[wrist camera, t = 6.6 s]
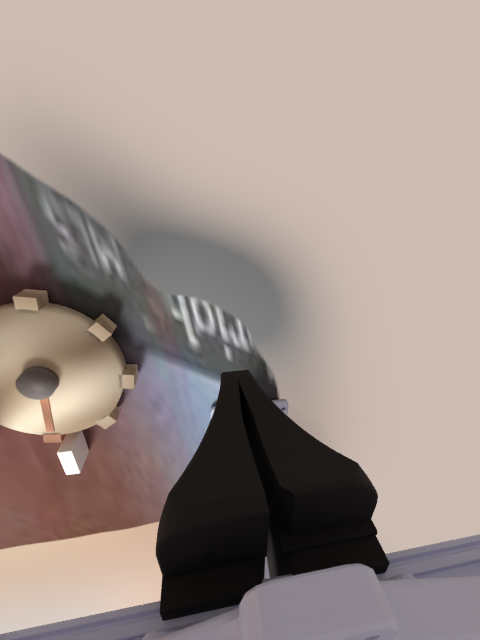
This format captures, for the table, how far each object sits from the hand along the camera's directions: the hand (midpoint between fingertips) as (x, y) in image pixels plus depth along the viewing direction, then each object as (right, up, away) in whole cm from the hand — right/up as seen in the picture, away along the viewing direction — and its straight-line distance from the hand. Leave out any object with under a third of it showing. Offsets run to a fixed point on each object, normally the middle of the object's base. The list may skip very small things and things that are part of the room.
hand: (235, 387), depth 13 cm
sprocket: (-16, -1, +9) cm, 18 cm away
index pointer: (-16, -9, +13) cm, 22 cm away
